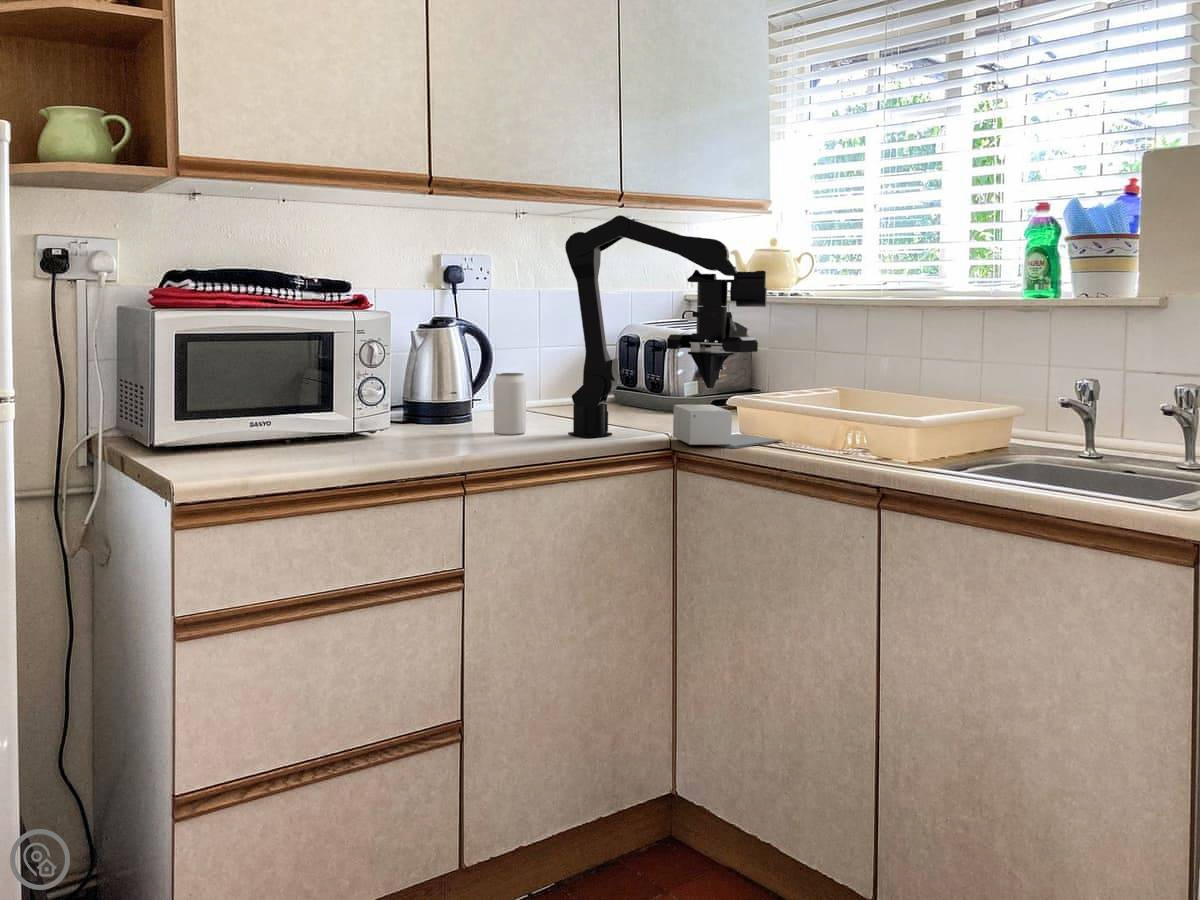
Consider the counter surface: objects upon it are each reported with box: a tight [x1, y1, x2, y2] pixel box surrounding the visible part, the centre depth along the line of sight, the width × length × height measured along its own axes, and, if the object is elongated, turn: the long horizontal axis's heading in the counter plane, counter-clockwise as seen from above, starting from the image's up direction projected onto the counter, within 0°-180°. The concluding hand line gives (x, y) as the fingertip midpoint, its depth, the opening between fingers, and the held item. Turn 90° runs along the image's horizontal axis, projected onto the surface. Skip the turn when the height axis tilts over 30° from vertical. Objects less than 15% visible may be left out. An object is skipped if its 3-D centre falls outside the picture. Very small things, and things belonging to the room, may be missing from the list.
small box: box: [672, 404, 733, 446], centre depth 201 cm, size 8×6×13 cm
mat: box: [711, 433, 783, 449], centre depth 204 cm, size 14×11×1 cm
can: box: [492, 372, 527, 436], centre depth 214 cm, size 6×6×12 cm
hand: (710, 388), depth 206 cm, fingers closed
